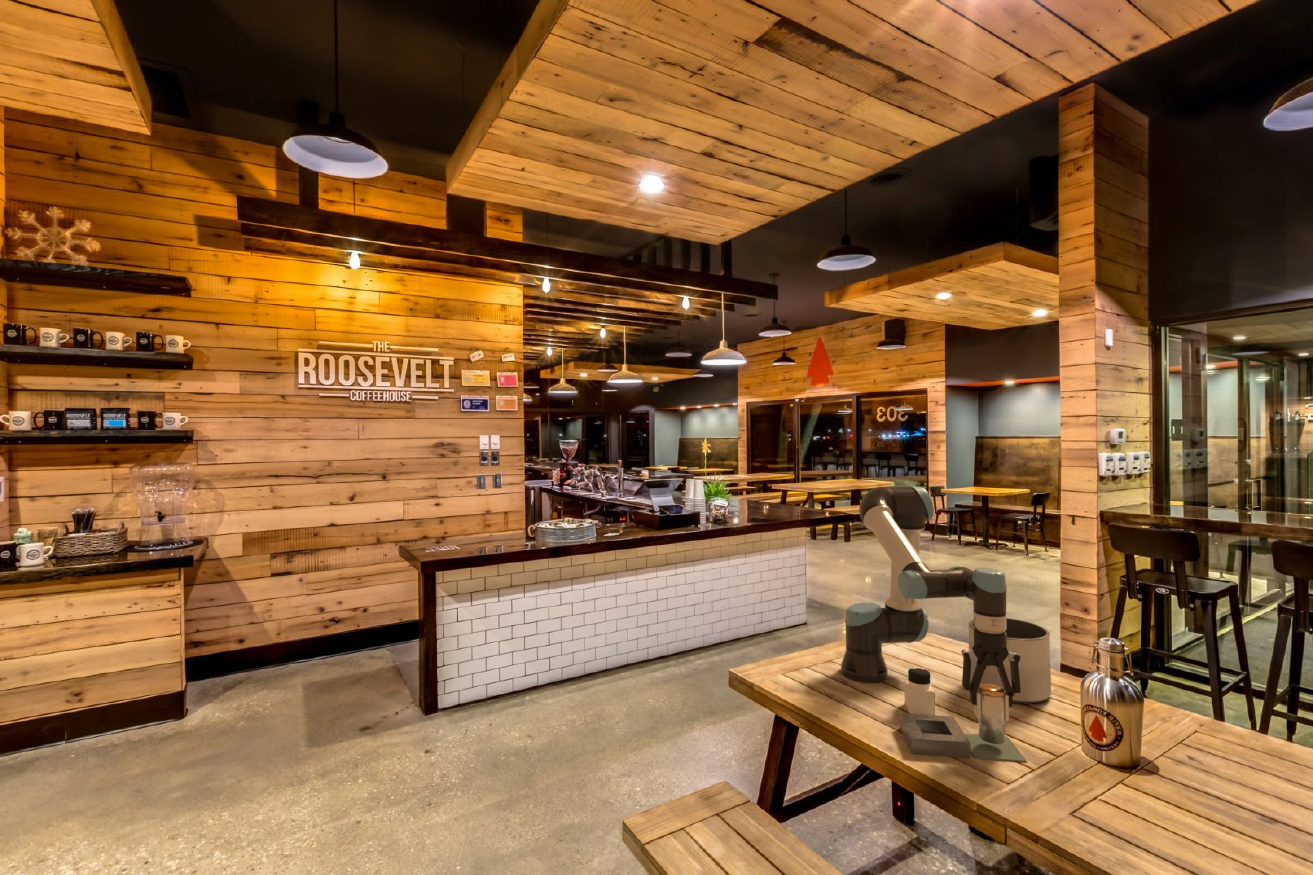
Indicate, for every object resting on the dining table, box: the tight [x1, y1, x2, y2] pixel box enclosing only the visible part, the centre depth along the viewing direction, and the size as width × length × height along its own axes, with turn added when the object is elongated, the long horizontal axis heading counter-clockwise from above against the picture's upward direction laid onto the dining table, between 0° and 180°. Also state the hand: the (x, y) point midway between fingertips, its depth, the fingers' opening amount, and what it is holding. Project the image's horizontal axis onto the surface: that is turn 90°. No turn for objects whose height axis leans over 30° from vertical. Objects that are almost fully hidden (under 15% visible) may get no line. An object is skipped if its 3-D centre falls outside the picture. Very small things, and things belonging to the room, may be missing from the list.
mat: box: [964, 733, 1028, 763], centre depth 157 cm, size 12×12×1 cm
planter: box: [968, 617, 1052, 705], centre depth 191 cm, size 23×23×20 cm
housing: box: [899, 712, 972, 759], centre depth 160 cm, size 14×14×4 cm
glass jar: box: [978, 684, 1006, 744], centre depth 157 cm, size 6×6×13 cm
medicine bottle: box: [903, 666, 936, 715], centre depth 179 cm, size 7×7×12 cm
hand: (991, 717), depth 157 cm, fingers closed on glass jar, 6 cm apart
